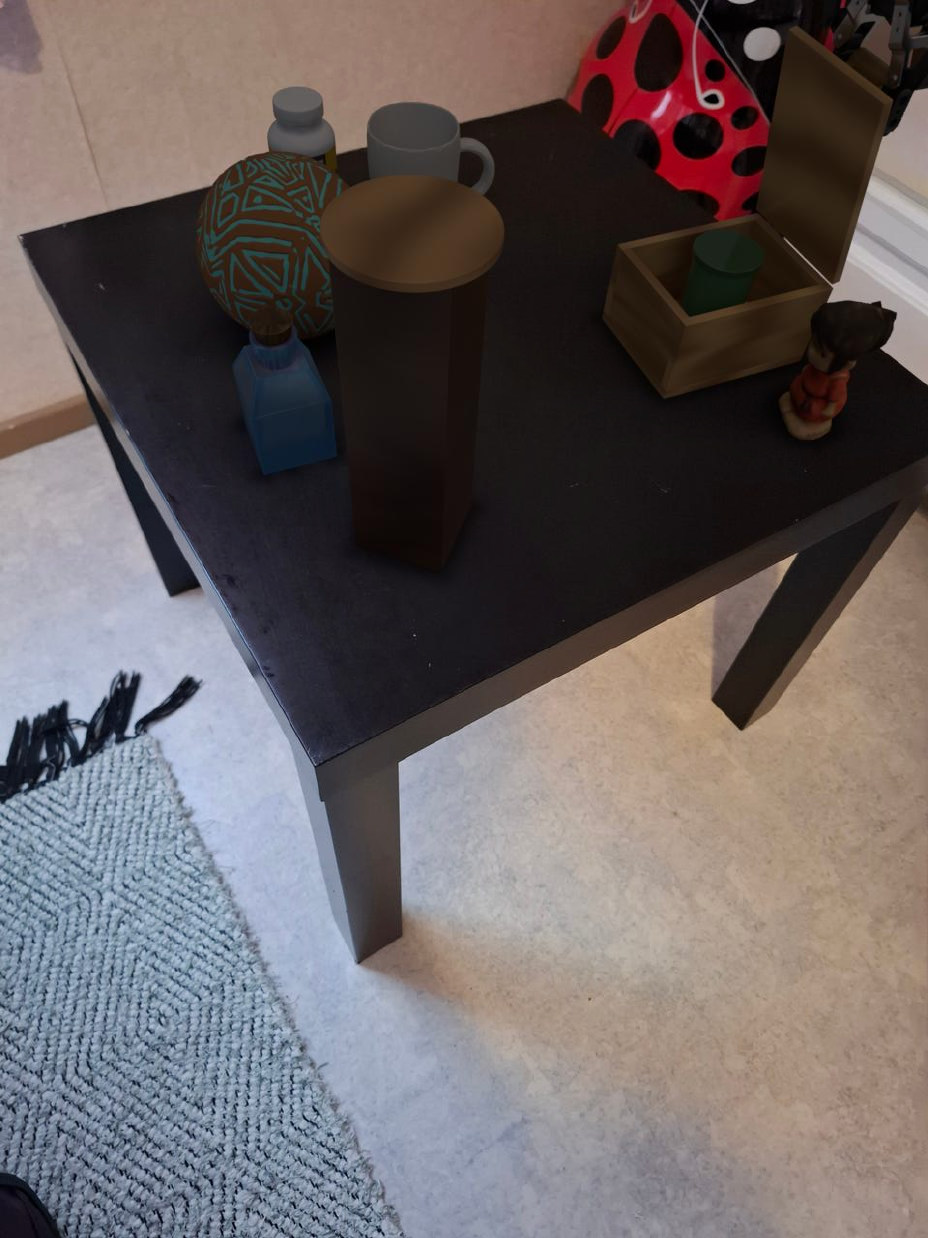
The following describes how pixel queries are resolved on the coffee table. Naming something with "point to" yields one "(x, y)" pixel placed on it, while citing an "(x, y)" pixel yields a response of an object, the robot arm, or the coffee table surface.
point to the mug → (421, 144)
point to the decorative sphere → (270, 239)
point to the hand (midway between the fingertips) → (853, 115)
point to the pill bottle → (302, 126)
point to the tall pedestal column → (410, 354)
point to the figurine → (832, 363)
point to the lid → (822, 148)
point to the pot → (720, 271)
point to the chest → (716, 340)
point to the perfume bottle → (282, 395)
